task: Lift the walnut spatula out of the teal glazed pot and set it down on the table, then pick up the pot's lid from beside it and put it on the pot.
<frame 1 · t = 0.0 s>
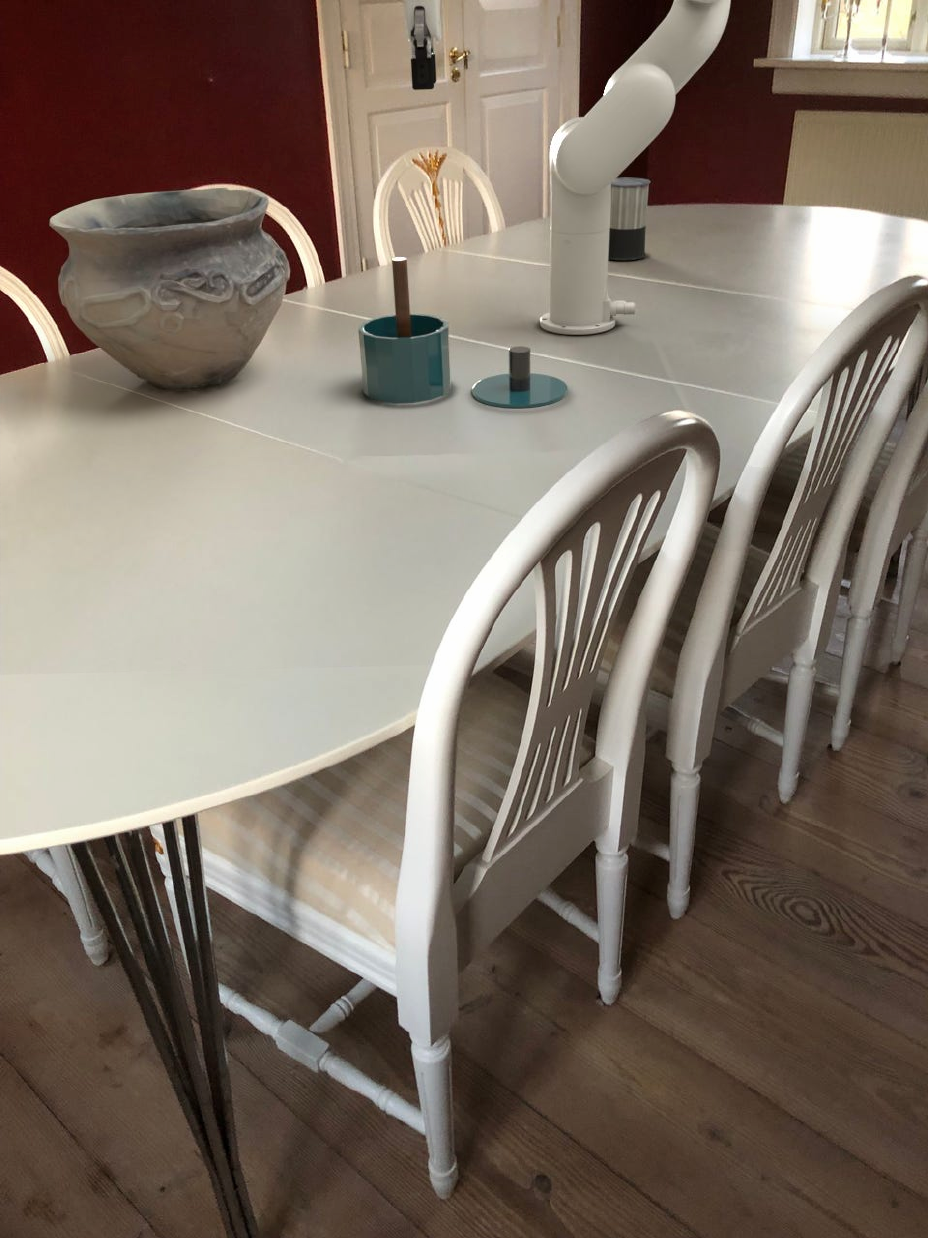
hand: (424, 86, 156), 37 cm above the table, tool pointing down, fingers open, 9 cm apart
lid: (519, 391, 146), point 1 cm above the table
pot: (407, 391, 149), on the table
clay pot: (194, 379, 157), on the table
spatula: (407, 388, 149), resting on pot
milk frother: (606, 259, 215), on the table
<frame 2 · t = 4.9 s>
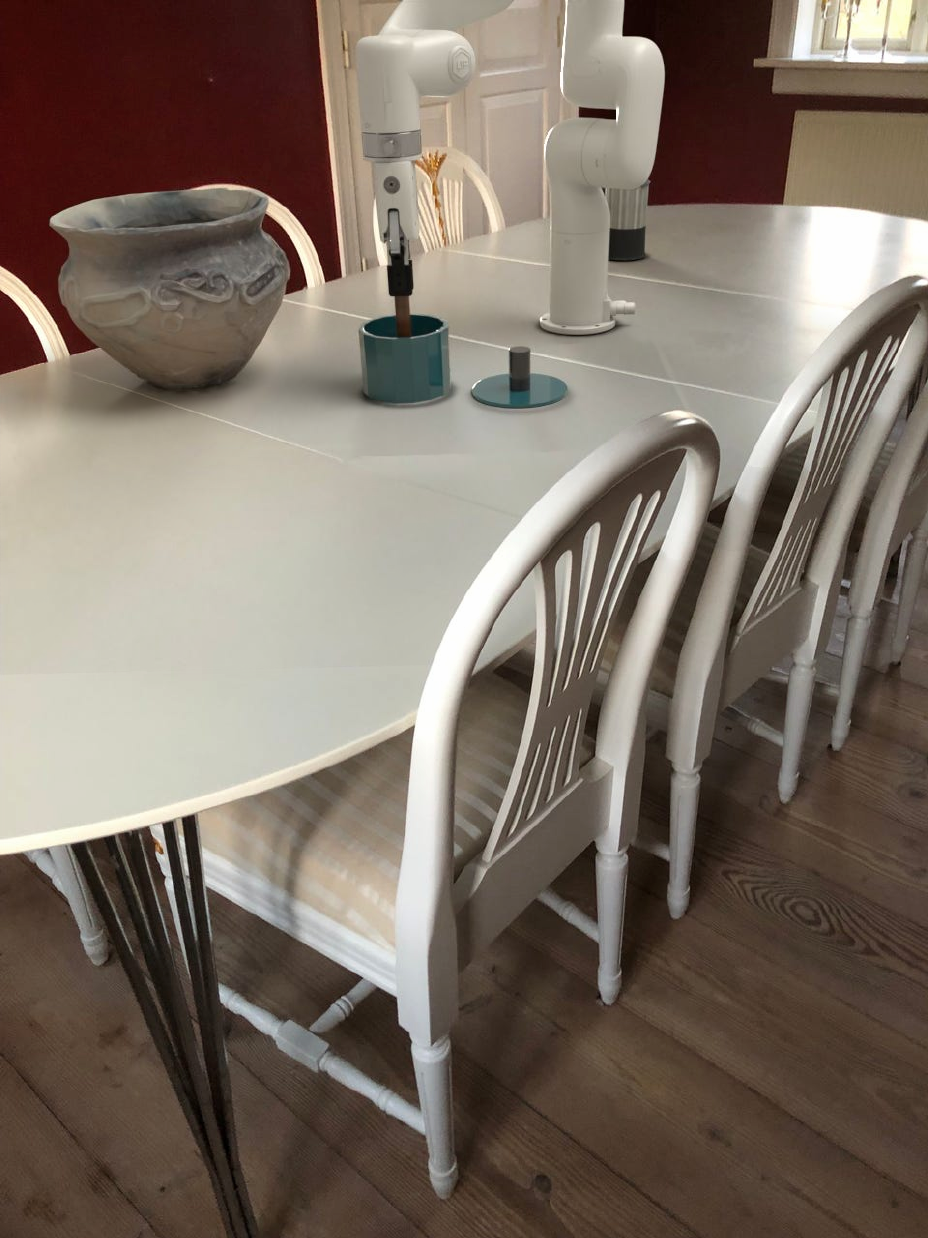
hand: (401, 291, 141), 14 cm above the table, tool pointing down, fingers closed on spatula, 2 cm apart
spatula: (407, 388, 149), point 1 cm above the table, touching gripper, pot
everything else where it was.
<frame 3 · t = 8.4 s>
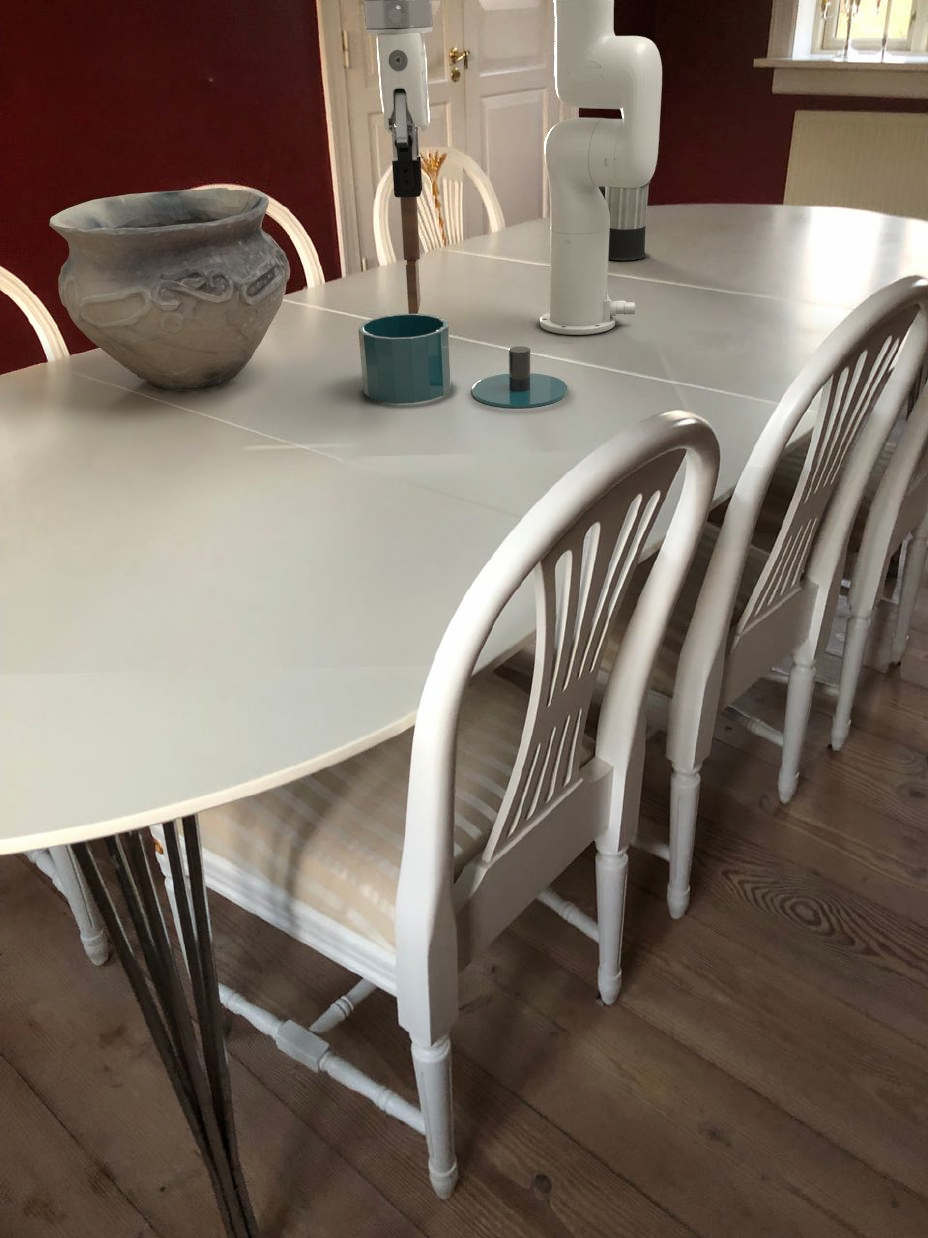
hand: (408, 193, 125), 28 cm above the table, tool pointing down, fingers closed on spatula
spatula: (414, 307, 132), point 15 cm above the table, touching gripper
everything else where it was.
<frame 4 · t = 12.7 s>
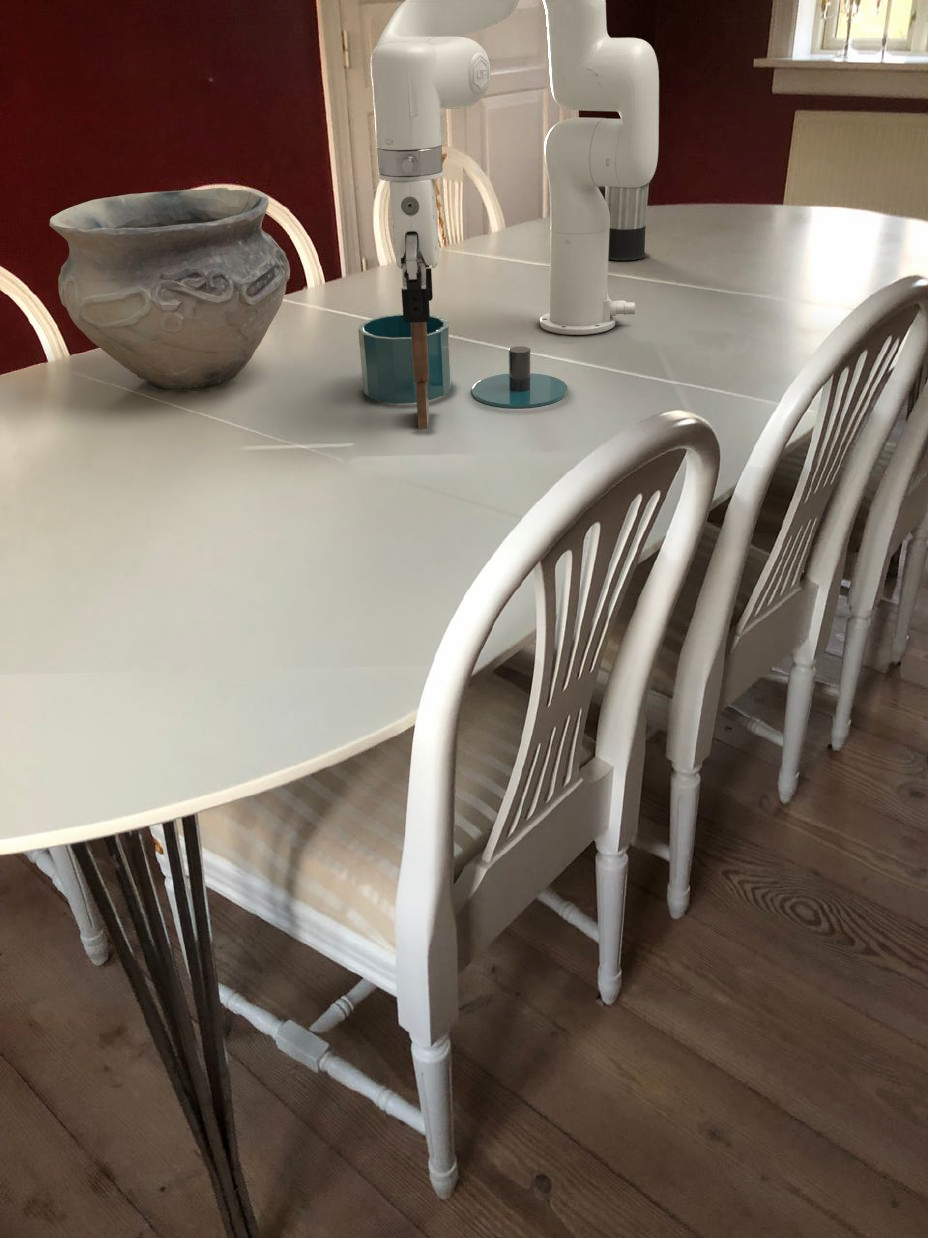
hand: (418, 310, 130), 15 cm above the table, tool pointing down, fingers open, 9 cm apart
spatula: (424, 424, 138), on the table
everything else where it was.
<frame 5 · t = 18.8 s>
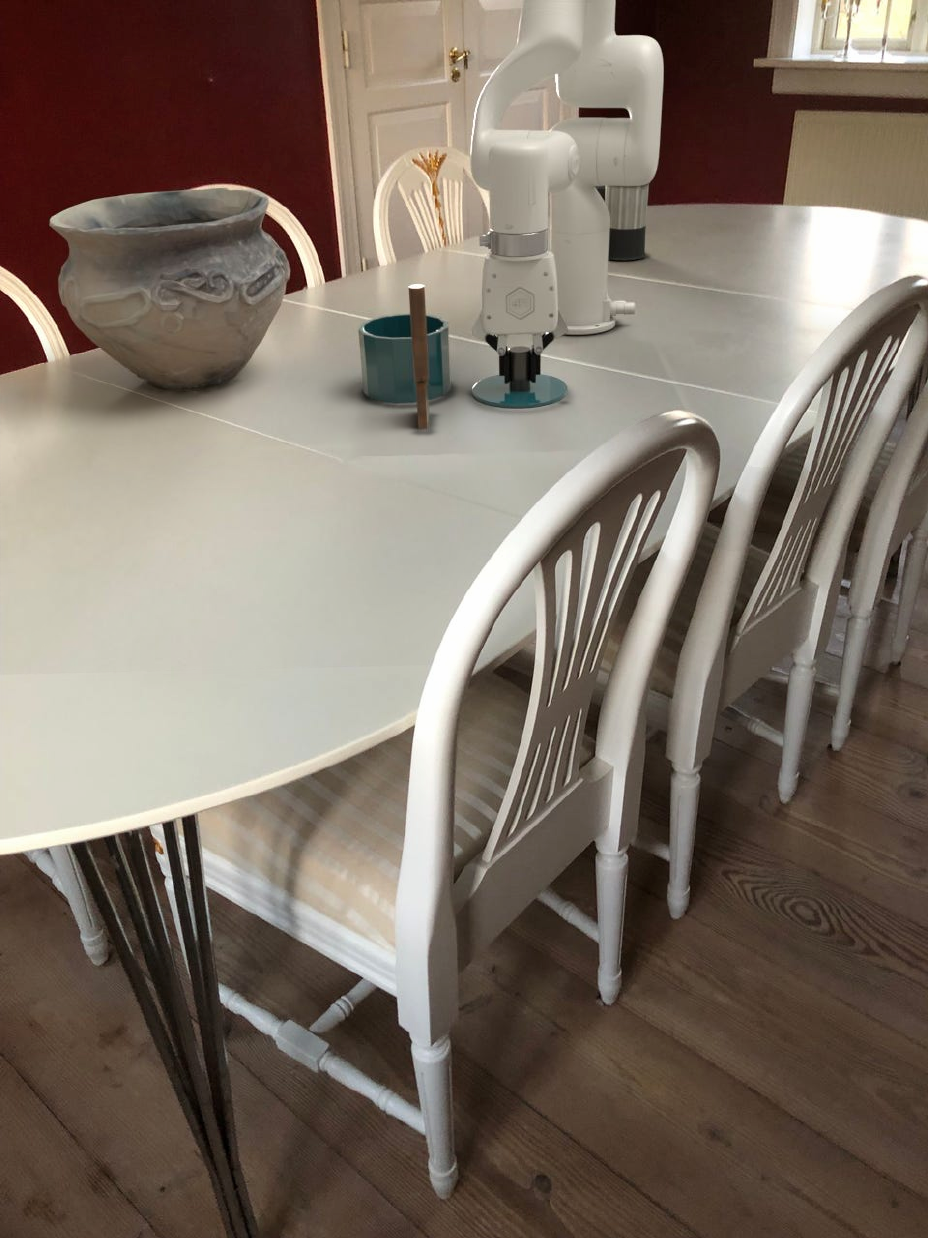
hand: (519, 378, 145), 2 cm above the table, tool pointing down, fingers closed on lid, 3 cm apart
lid: (519, 391, 146), point 1 cm above the table, touching gripper
everything else where it was.
when the fingers open (11 cm above the table, at t = 26.3 s): lid stays where it is, resting on pot.
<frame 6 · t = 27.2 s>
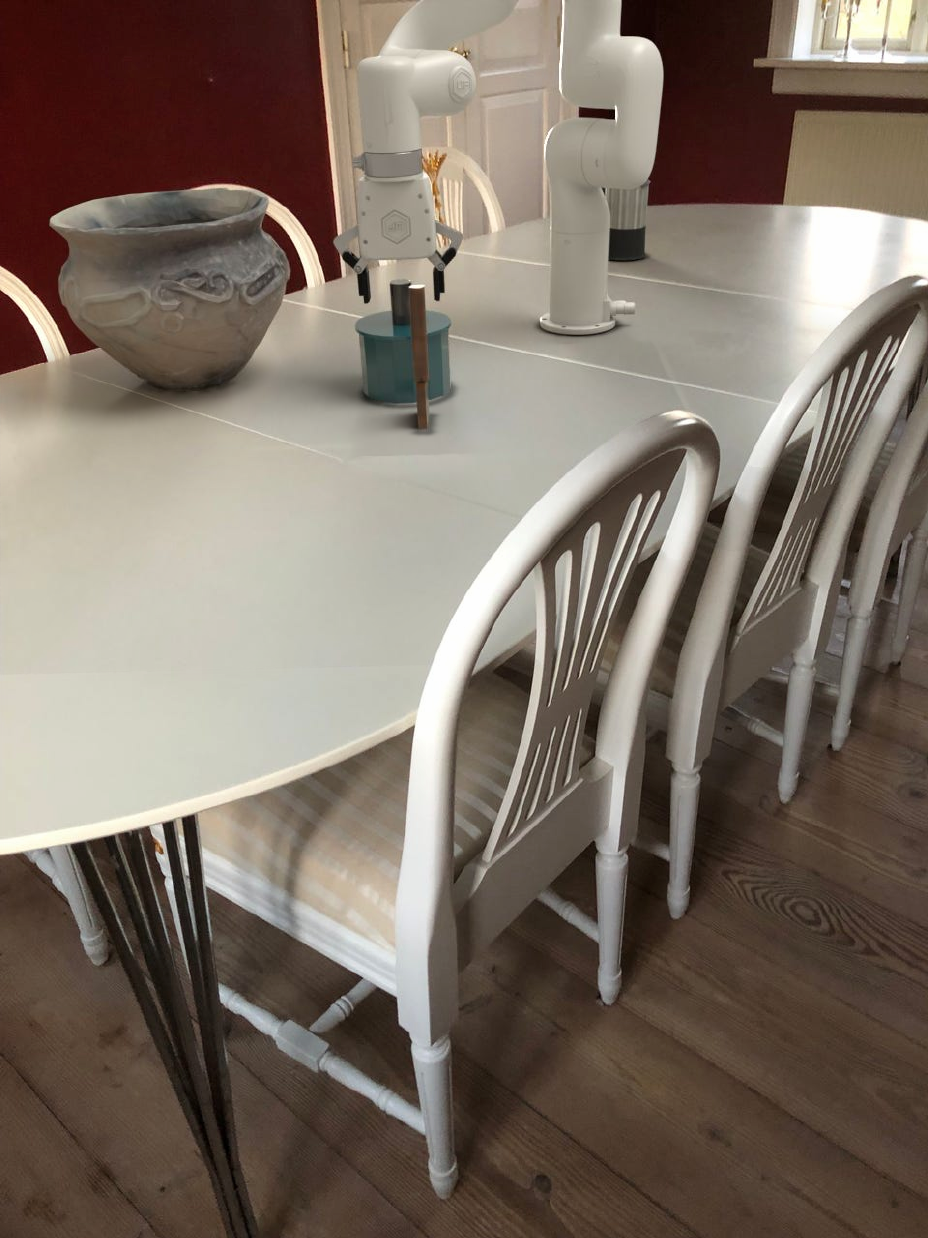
hand: (402, 299, 142), 13 cm above the table, tool pointing down, fingers open, 9 cm apart
lid: (403, 325, 144), point 9 cm above the table, touching pot
everything else where it was.
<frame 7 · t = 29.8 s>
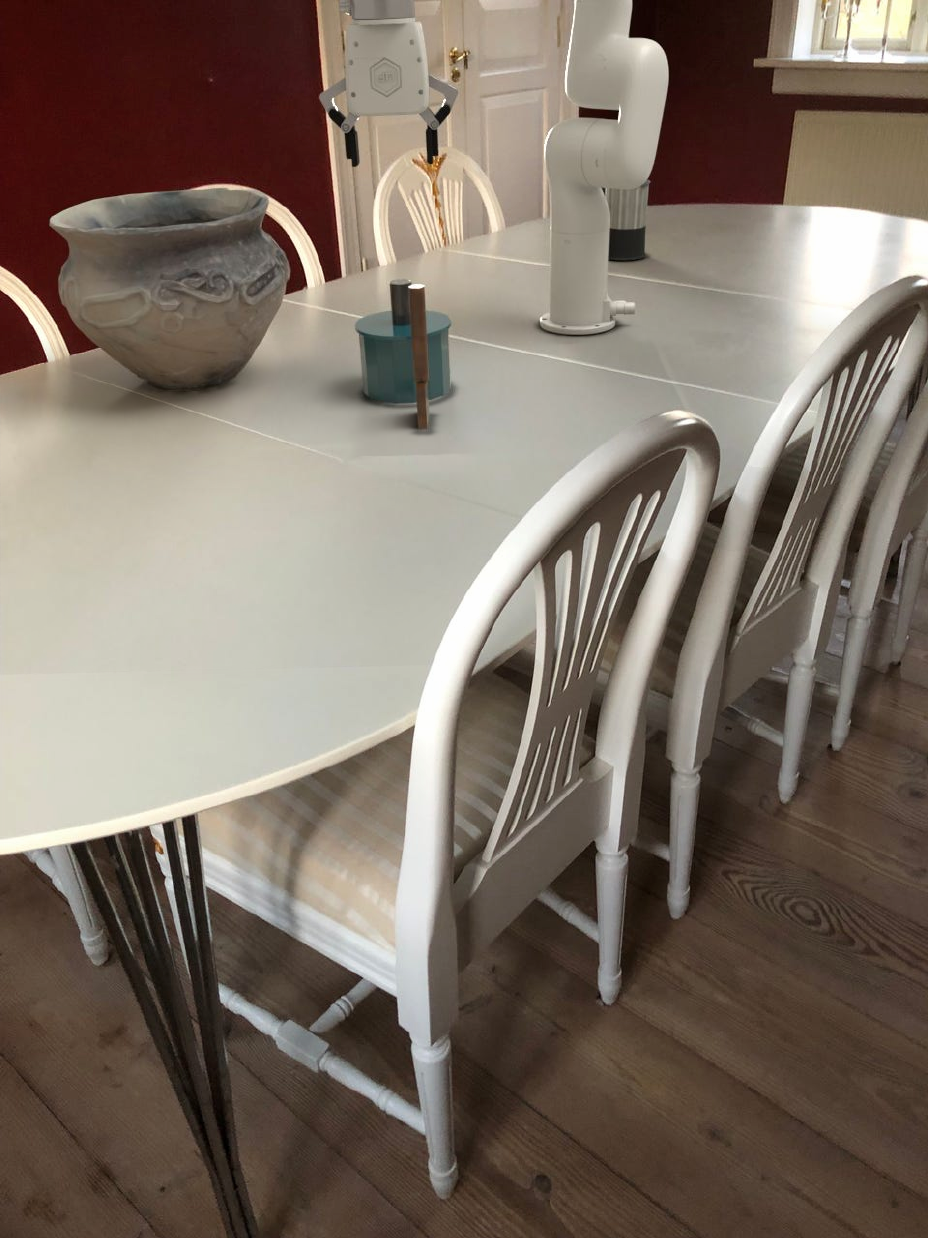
hand: (393, 163, 133), 30 cm above the table, tool pointing down, fingers open, 9 cm apart
nothing on the table moved.
at the end: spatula inside the target area (1.0 cm from its centre), on the table; lid 0.1 cm off-centre on the pot, point 9.5 cm above the pot's base; lid tilted 0° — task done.
